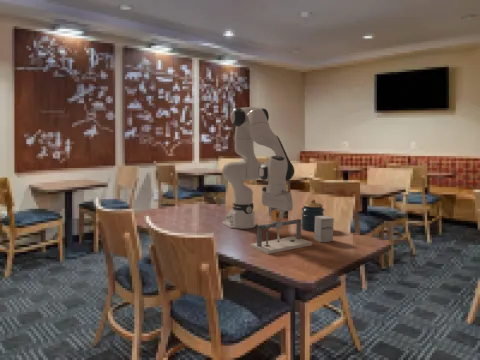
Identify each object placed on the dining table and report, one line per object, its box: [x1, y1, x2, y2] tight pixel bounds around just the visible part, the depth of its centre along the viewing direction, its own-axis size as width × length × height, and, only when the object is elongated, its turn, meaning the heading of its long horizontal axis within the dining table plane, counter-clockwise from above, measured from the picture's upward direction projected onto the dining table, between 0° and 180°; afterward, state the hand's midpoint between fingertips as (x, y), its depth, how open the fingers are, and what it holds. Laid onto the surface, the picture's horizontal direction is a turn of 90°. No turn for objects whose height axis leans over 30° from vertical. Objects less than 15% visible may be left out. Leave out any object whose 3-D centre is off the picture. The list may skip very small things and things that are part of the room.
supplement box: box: [313, 215, 334, 243], centre depth 207 cm, size 7×7×13 cm
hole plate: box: [249, 218, 313, 255], centre depth 197 cm, size 14×28×12 cm, turn 123°
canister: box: [301, 198, 325, 232], centre depth 233 cm, size 13×13×18 cm
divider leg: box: [270, 209, 283, 242], centre depth 196 cm, size 4×4×16 cm
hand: (276, 217), depth 196 cm, fingers open, 5 cm apart
